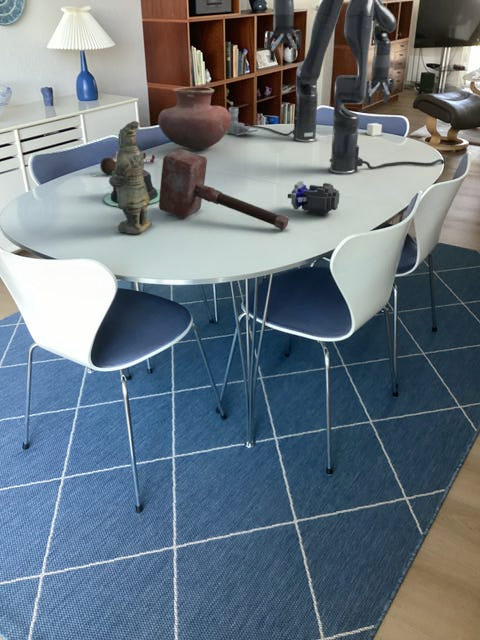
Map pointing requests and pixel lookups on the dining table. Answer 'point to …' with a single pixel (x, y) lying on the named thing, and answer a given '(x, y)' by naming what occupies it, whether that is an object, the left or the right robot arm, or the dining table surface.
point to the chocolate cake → (152, 193)
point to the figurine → (109, 163)
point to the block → (374, 129)
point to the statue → (131, 182)
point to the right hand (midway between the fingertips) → (282, 60)
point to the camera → (237, 124)
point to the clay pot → (194, 119)
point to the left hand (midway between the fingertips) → (377, 104)
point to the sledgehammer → (200, 190)
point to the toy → (315, 198)
